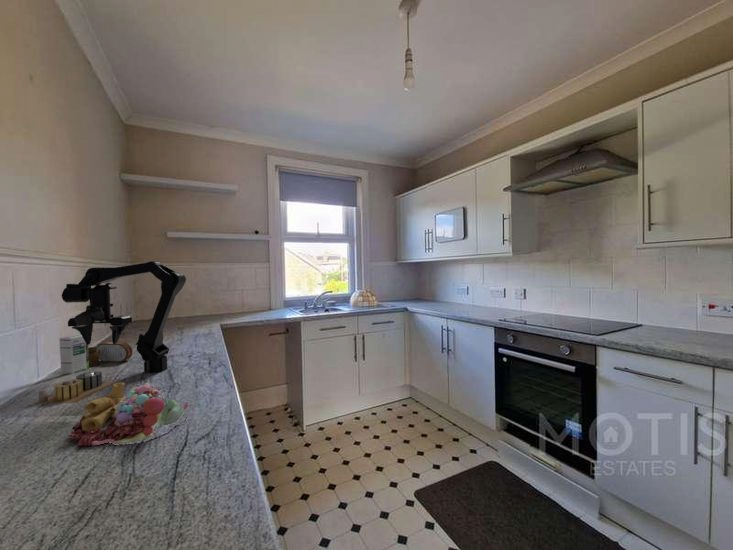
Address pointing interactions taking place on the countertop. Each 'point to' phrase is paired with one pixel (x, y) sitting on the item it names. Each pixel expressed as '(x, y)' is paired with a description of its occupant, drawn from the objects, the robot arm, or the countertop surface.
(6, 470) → the countertop surface
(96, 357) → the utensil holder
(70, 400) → the board
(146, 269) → the robot arm
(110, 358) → the tin
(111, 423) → the candy landscape model
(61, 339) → the syrup box
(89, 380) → the gear
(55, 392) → the brass gear
